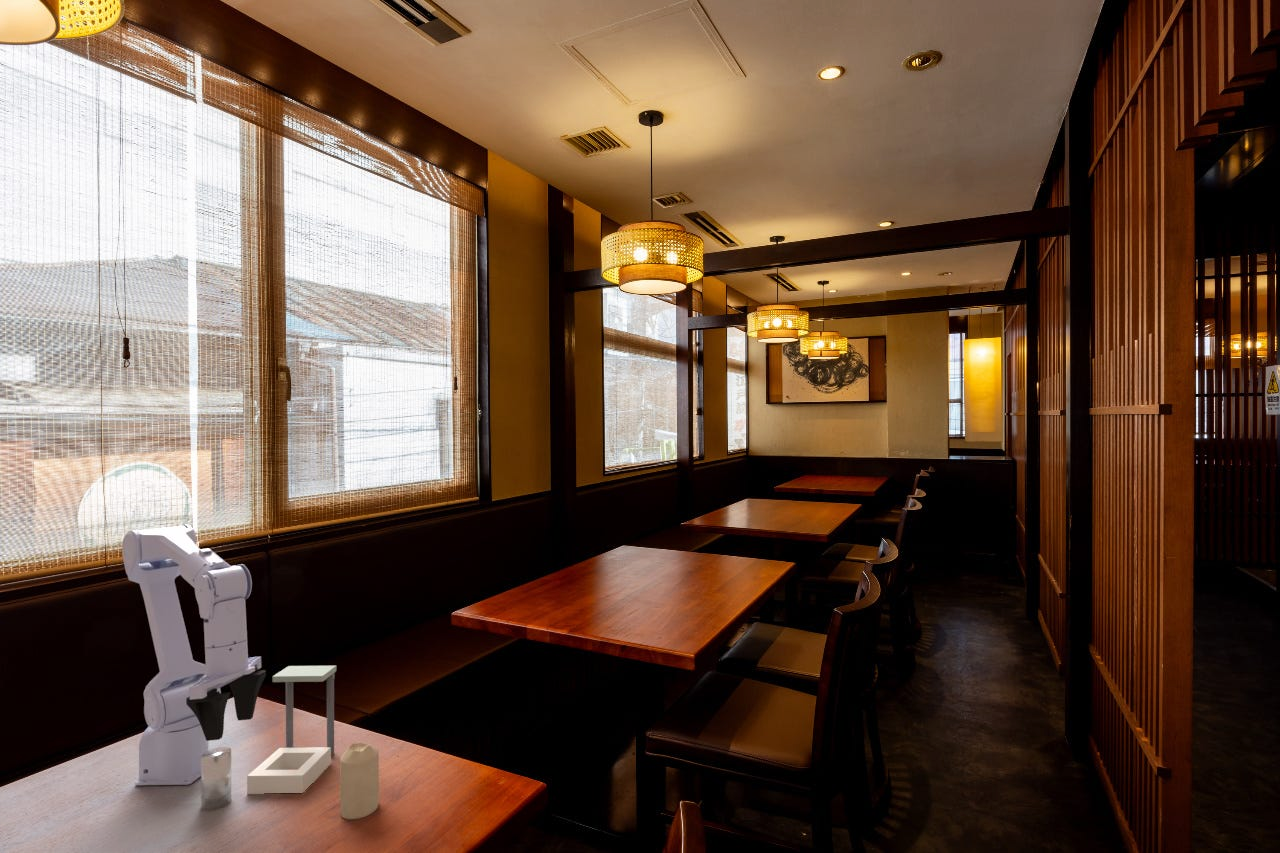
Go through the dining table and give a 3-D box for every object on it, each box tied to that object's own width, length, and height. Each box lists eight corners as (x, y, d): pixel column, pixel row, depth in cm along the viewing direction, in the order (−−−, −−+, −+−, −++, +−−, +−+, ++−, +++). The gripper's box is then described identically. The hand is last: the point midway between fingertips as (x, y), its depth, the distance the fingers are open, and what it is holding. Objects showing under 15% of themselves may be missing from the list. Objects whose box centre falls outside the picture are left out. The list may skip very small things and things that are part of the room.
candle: (385, 799, 100) (385, 737, 100) (367, 821, 95) (366, 755, 95) (353, 798, 101) (352, 736, 101) (333, 819, 95) (332, 753, 95)
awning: (272, 766, 111) (272, 676, 111) (288, 752, 116) (288, 666, 116) (323, 765, 111) (322, 675, 111) (336, 751, 116) (336, 665, 116)
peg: (195, 810, 98) (195, 759, 98) (212, 796, 102) (212, 747, 102) (220, 810, 98) (220, 759, 98) (237, 795, 102) (236, 746, 102)
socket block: (247, 794, 102) (247, 775, 102) (279, 764, 111) (279, 747, 111) (302, 793, 102) (302, 775, 102) (330, 764, 111) (330, 747, 111)
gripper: (220, 653, 93) (225, 746, 92) (277, 629, 108) (281, 708, 107) (173, 658, 93) (177, 751, 92) (236, 632, 108) (240, 712, 107)
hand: (230, 728), depth 100 cm, fingers open, 7 cm apart
